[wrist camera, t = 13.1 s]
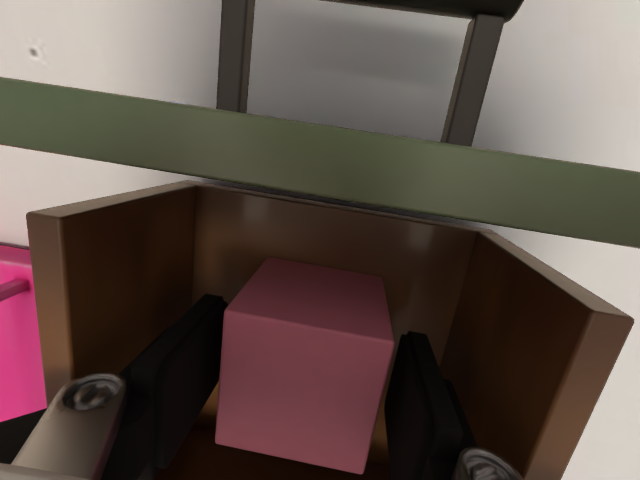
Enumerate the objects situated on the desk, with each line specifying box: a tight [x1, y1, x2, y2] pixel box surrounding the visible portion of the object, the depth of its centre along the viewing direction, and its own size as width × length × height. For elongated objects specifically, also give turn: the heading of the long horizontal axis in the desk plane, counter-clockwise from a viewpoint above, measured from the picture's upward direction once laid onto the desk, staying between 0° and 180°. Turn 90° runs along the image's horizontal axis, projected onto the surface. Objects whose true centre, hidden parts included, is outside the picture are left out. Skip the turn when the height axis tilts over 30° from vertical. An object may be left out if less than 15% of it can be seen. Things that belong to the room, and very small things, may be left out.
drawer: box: [0, 0, 640, 480], centre depth 10 cm, size 19×13×7 cm
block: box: [215, 257, 395, 474], centre depth 11 cm, size 4×4×4 cm
